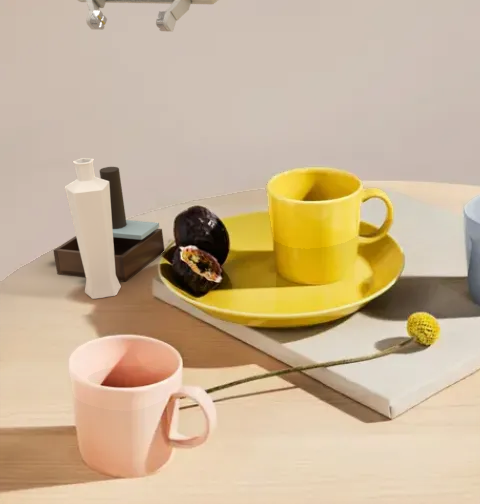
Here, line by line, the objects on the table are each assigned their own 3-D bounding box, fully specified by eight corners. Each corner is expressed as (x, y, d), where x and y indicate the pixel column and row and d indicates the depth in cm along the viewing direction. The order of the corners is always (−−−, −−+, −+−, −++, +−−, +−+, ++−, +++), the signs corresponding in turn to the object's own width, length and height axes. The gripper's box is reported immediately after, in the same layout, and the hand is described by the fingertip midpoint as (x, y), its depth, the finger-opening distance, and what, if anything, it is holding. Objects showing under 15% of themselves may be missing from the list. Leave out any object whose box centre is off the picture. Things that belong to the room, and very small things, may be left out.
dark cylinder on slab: (75, 233, 112) (65, 172, 109) (95, 221, 116) (86, 161, 113) (141, 240, 109) (133, 177, 106) (159, 227, 113) (152, 166, 110)
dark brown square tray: (57, 274, 109) (52, 250, 108) (99, 245, 117) (96, 222, 116) (125, 281, 107) (122, 257, 106) (164, 251, 115) (162, 228, 113)
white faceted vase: (72, 298, 103) (50, 166, 97) (95, 281, 107) (75, 154, 101) (109, 302, 102) (89, 169, 96) (131, 286, 106) (113, 156, 100)
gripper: (74, -82, 118) (40, 10, 113) (223, -84, 113) (194, 13, 108) (98, -48, 124) (67, 40, 119) (242, -48, 118) (214, 45, 113)
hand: (128, 27), depth 113 cm, fingers open, 8 cm apart
